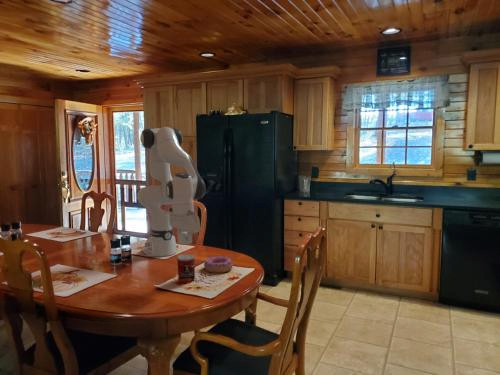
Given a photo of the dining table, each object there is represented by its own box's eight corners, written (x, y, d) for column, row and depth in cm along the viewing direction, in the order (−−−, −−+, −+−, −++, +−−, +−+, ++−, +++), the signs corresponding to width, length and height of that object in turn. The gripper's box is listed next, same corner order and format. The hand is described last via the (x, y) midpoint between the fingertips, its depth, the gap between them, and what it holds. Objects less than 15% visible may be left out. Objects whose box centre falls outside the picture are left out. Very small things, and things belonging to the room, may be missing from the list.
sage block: (178, 243, 170) (177, 233, 170) (186, 241, 173) (186, 231, 173) (183, 245, 167) (183, 234, 166) (192, 243, 170) (191, 233, 169)
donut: (219, 276, 177) (219, 266, 176) (198, 270, 186) (198, 260, 185) (238, 268, 188) (238, 258, 188) (217, 262, 197) (217, 253, 196)
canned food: (178, 284, 167) (178, 260, 166) (177, 277, 175) (176, 255, 174) (196, 282, 169) (195, 258, 168) (193, 276, 177) (193, 253, 176)
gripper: (203, 211, 163) (204, 242, 164) (178, 206, 178) (179, 234, 180) (190, 213, 159) (191, 245, 160) (166, 207, 174) (167, 236, 175)
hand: (185, 239), depth 170 cm, fingers closed on sage block, 5 cm apart
